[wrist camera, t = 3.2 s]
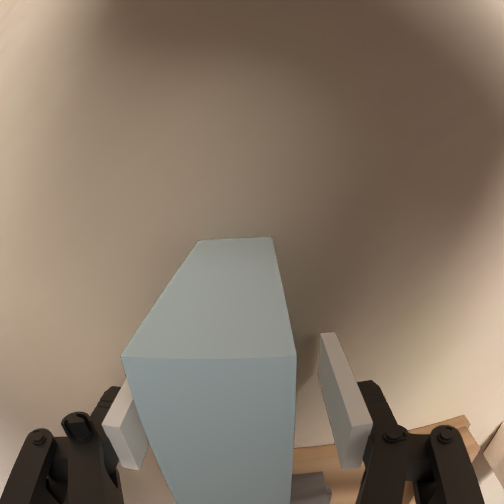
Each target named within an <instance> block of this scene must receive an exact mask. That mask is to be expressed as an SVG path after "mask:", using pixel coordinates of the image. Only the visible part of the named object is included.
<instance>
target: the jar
mask: <svg viewBox="0 0 504 504" xmlns="http://www.w3.org/2000/svg"><path fill="white" fill-rule="evenodd" d="M483 455H484V457H485V459H486V460H487V462H488V463H489V465H490V467H491V468H492V470H493V472H494V473H495V475H496V477H497V478H498V480H499V482H500V483H501V485H502V487H503V488H504V422H503V423H502V424H501V426H500V427H499V429H498V431H497V432H496V434H495V436H494V437H493V439H492V440H491V442H490V444H489V445H488V447H487V448H486V450H485V451H484V453H483Z"/></svg>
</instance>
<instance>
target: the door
mask: <svg viewBox="0 0 504 504" xmlns="http://www.w3.org/2000/svg"><path fill="white" fill-rule="evenodd" d="M120 358H121V361H122V364H123V368H124V371H125V375H126V378H127V381H128V384H129V387H130V390H131V393H132V396H133V399H134V402H135V405H136V408H137V411H138V414H139V417H140V420H141V422H142V425H143V428H144V430H145V433H146V436H147V438H148V441H149V443H150V446H151V448H152V451H153V453H154V456H155V458H156V460H157V463H158V465H159V467H160V470H161V472H162V474H163V476H164V479H165V481H166V483H167V485H168V487H169V489H170V492H171V494H172V496H173V498H174V500H175V502H176V504H290V496H291V481H292V465H293V447H294V426H295V400H296V364H297V355H296V350H295V345H294V340H293V335H292V330H291V325H290V320H289V315H288V310H287V305H286V300H285V296H284V291H283V286H282V281H281V277H280V272H279V267H278V262H277V258H276V253H275V248H274V244H273V239H272V237H252V238H231V239H211V240H199V241H198V242H197V243H196V245H195V246H194V248H193V249H192V250H191V252H190V253H189V255H188V256H187V257H186V259H185V260H184V262H183V263H182V265H181V266H180V267H179V269H178V270H177V272H176V273H175V275H174V276H173V278H172V279H171V280H170V282H169V283H168V285H167V286H166V288H165V289H164V291H163V292H162V294H161V295H160V296H159V298H158V299H157V301H156V302H155V304H154V305H153V307H152V308H151V310H150V311H149V313H148V314H147V316H146V317H145V319H144V320H143V322H142V323H141V325H140V326H139V328H138V329H137V331H136V332H135V334H134V335H133V337H132V338H131V340H130V342H129V343H128V345H127V346H126V348H125V349H124V351H123V352H122V354H121V355H120Z"/></svg>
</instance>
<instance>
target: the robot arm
mask: <svg viewBox="0 0 504 504" xmlns="http://www.w3.org/2000/svg"><path fill="white" fill-rule="evenodd" d="M318 379H319V382H320V386H321V390H322V394H323V398H324V401H325V405H326V409H327V413H328V417H329V421H330V425H331V429H332V433H333V437H334V441H335V445H336V449H337V453H338V457H339V461H340V465H341V469H342V471H343V470H349V469H355V468H360V467H361V464H362V461H363V462H364V465H365V471H364V474H363V477H362V480H361V482H360V483H361V485H360V489H359V493H358V496H357V500H356V503H355V504H402V500H403V494H404V488H405V481H412V485H413V490H414V496H415V503H416V504H485V503H484V500H483V496H482V493H481V490H480V487H479V484H478V480H477V477H476V474H475V472H474V469H473V466H472V463H471V460H470V457H469V454H468V452H467V449H466V446H465V444H464V441H463V438H462V436H461V434H460V432H459V431H458V429H456V428H455V427H453V426H450V425H440V426H437V427H435V428H434V429H433V430H432V431H431V433H430V434H412V433H409V432H408V431H407V429H406V428H404V427H402V426H400V425H398V424H397V422H396V420H395V418H394V416H393V413H392V411H391V409H390V407H389V405H388V403H387V402H386V399H385V397H384V396H383V393H382V391H381V389H380V387H379V386H378V385H377V384H376V383H374V382H373V381H372V380H369V381H362V382H356V380H355V377H354V375H353V373H352V370H351V368H350V366H349V363H348V361H347V358H346V356H345V354H344V351H343V349H342V347H341V344H340V342H339V340H338V338H337V335H336V333H335V332H329V333H320V349H319V366H318ZM61 425H62V427H63V429H64V431H65V433H66V435H67V436H68V437H53V435H52V433H51V432H50V431H49V430H47V429H36V430H33V431H32V432H31V433H29V435H28V436H27V438H26V440H25V442H24V444H23V446H22V448H21V451H20V453H19V455H18V457H17V459H16V462H15V464H14V466H13V469H12V471H11V473H10V476H9V478H8V481H7V483H6V486H5V488H4V491H3V493H2V496H1V498H0V504H124V500H123V495H122V489H121V483H120V477H119V472H118V470H117V468H116V466H117V464H118V461H120V463H121V465H122V467H123V468H126V469H132V470H139V471H140V469H141V466H142V463H143V460H144V457H145V454H146V451H147V448H148V445H149V441H148V438H147V436H146V433H145V430H144V428H143V425H142V422H141V420H140V417H139V414H138V411H137V408H136V405H135V402H134V399H133V396H132V393H131V390H130V387H129V384H128V381H127V378H126V380H125V381H124V383H123V385H122V387H115V386H112V387H110V388H109V389H108V390H107V391H105V392H104V394H103V396H102V397H101V399H100V401H99V402H98V404H97V407H96V408H95V409H94V411H93V413H92V414H91V416H89V415H88V414H87V413H84V412H74V413H70V414H69V415H67V416H66V417H65V418H64V419H63V420H62V422H61Z"/></svg>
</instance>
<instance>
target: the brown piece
mask: <svg viewBox="0 0 504 504" xmlns="http://www.w3.org/2000/svg"><path fill="white" fill-rule="evenodd" d="M440 425H450V426H453V427H455V428H456V429H458V431H459V432H460V434H461V436H462V438H463V441H464V444H465V446H466V449H467V452H468V454H469V457H470V460H471V463H472V462H473V460H474V459H475V457H476V455H477V454H478V452H479V450H480V447H479V445H478V444H477V442H476V441H475V439H474V438H473V436H472V435H471V433H470V432H469V430H468V428H469V426H470V423H469V421H468V420H467V418H466V417H465V416H464V415H462V416H459V417H456V418H453V419H450V420H446V421H443V422H440V423H436V424H432V425H429V426H425V427H421V428H417V429H413V430H409V431H408V432H409V433H412V434H430V433H431V431H432V430H433V429H434V428H435V427H437V426H440ZM364 471H365V465H364V462H363V461H362V464H361V467H360V468H355V469H349V470H343V471H342V469H341V465H340V461H339V457H338V453H337V449H336V445H335V444H333V445H325V446H316V447H305V448H294V449H293V465H292V481H291V496H290V504H355V503H356V500H357V496H358V493H359V489H360V485H361V483H360V482H361V480H362V477H363V474H364ZM402 504H416V503H415V496H414V490H413V485H412V481H405V488H404V494H403V500H402Z"/></svg>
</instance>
